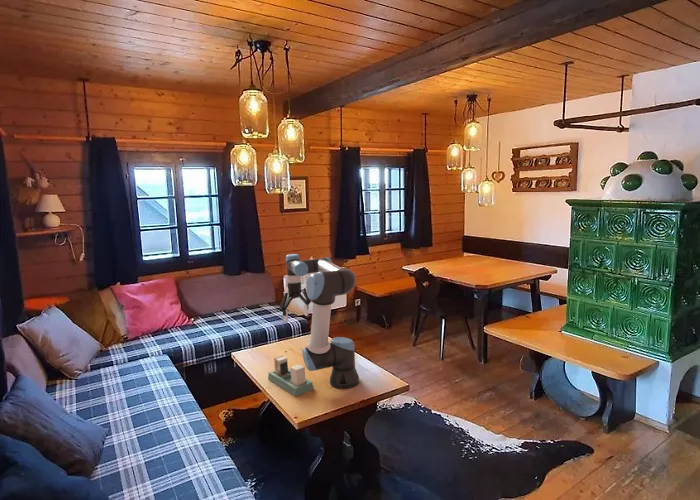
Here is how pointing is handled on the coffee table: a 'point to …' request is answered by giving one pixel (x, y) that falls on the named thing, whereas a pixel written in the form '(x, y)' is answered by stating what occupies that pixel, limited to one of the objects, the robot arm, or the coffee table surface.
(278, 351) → the coffee table surface
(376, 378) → the coffee table surface
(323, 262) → the robot arm
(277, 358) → the block
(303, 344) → the coffee table surface
